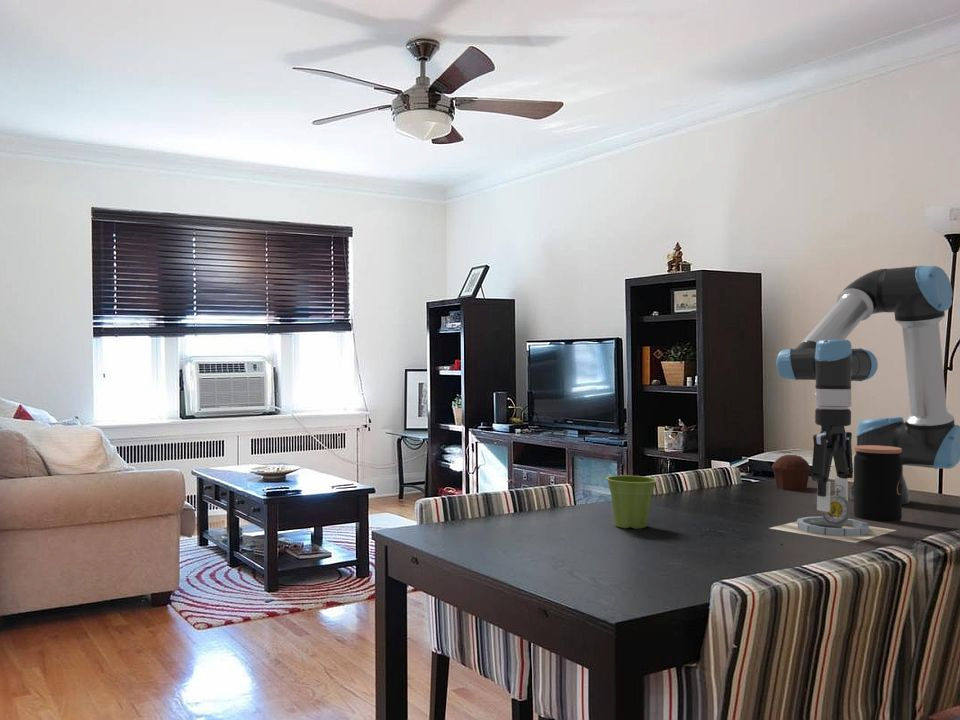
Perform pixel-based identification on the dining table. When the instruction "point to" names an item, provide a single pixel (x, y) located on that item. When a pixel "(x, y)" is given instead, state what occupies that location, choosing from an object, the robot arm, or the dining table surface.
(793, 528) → the ash board
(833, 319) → the robot arm
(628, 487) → the plant pot
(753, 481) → the dining table surface
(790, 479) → the muffin
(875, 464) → the coffee jar
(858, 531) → the slate ring
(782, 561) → the dining table surface
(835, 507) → the pocket watch
